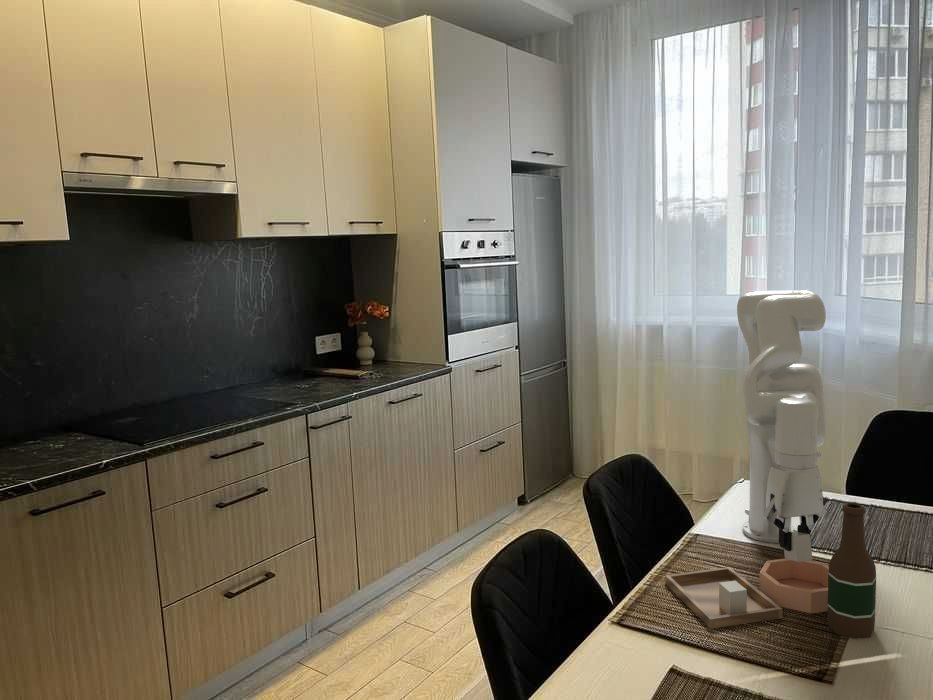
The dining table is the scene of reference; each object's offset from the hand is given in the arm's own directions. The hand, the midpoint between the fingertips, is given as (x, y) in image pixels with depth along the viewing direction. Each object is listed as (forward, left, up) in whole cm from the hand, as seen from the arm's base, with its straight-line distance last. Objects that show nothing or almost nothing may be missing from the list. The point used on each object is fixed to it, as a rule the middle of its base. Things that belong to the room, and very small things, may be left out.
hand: (794, 546), depth 146 cm
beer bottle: (+16, +1, -10) cm, 19 cm away
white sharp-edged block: (+5, -16, -9) cm, 19 cm away
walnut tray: (0, -16, -10) cm, 19 cm away
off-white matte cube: (+1, 0, -2) cm, 2 cm away
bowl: (+2, 0, -10) cm, 10 cm away
